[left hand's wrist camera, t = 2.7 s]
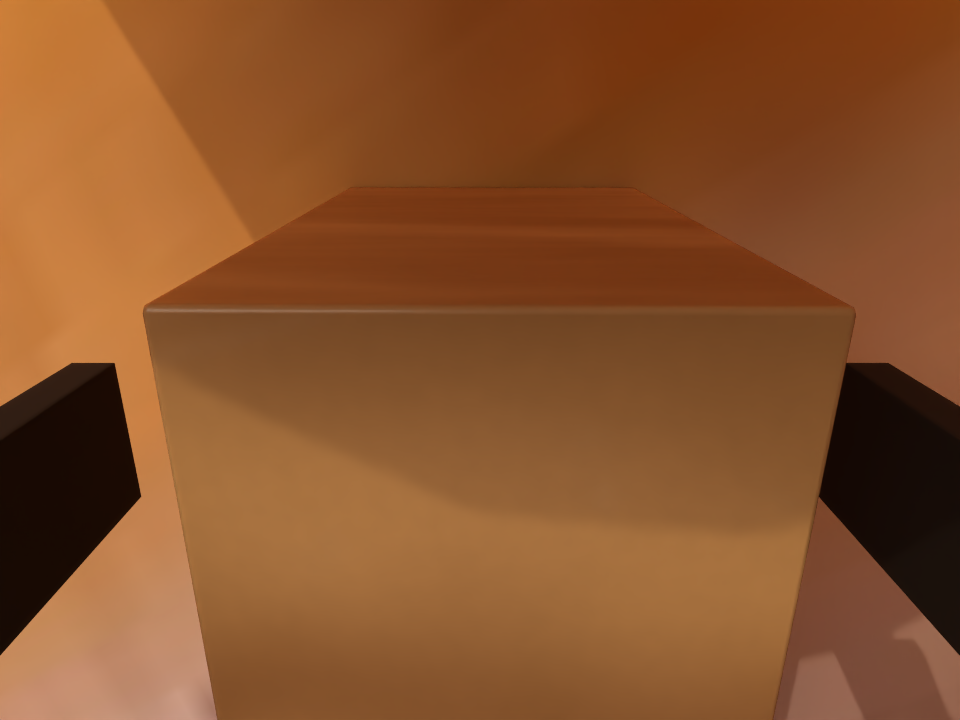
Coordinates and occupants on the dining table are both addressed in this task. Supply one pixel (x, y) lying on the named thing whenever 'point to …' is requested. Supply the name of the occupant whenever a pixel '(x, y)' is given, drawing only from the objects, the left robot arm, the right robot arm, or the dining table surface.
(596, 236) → the box
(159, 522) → the dining table surface
